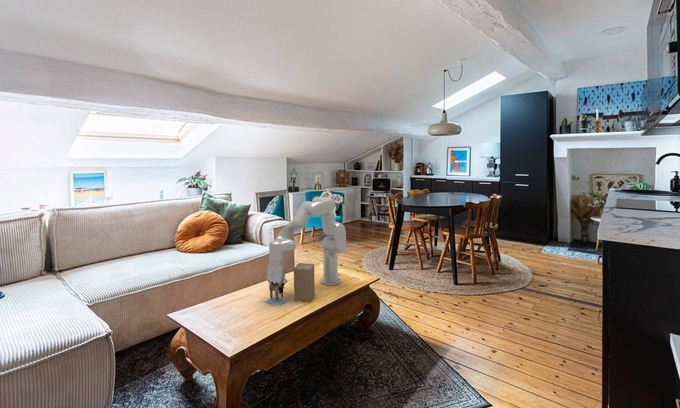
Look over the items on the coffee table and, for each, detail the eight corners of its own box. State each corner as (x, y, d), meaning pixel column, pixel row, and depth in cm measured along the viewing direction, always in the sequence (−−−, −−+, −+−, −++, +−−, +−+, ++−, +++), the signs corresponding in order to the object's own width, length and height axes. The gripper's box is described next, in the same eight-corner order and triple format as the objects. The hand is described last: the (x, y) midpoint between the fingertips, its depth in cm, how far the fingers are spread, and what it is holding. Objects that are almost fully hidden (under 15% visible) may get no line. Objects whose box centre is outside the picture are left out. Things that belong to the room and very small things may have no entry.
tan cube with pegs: (269, 298, 202) (269, 284, 201) (276, 294, 208) (275, 281, 206) (277, 300, 199) (277, 286, 198) (284, 296, 204) (283, 283, 203)
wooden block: (310, 301, 203) (309, 269, 200) (293, 300, 205) (293, 267, 202) (314, 295, 212) (314, 263, 210) (299, 293, 214) (298, 262, 212)
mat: (275, 296, 211) (275, 295, 210) (288, 299, 206) (288, 298, 205) (264, 302, 202) (264, 301, 202) (277, 305, 197) (277, 304, 197)
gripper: (260, 261, 202) (261, 291, 204) (283, 266, 193) (284, 297, 196) (269, 258, 208) (269, 286, 211) (291, 262, 199) (292, 292, 202)
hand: (276, 291), depth 203 cm, fingers closed on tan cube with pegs, 5 cm apart
